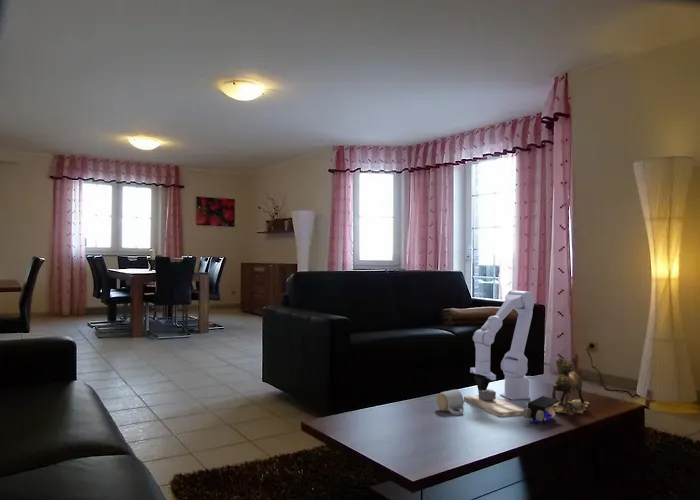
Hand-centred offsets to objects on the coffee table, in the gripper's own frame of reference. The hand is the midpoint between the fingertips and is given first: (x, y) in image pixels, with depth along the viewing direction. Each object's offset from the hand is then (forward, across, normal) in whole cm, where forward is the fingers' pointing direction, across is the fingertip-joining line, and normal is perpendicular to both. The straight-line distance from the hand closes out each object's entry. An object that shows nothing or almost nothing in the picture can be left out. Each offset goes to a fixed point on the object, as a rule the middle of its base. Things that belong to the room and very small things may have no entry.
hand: (482, 394), depth 205 cm
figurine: (+3, +17, +29) cm, 34 cm away
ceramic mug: (+3, +8, -19) cm, 21 cm away
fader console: (+3, +8, 0) cm, 8 cm away
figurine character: (+3, +28, +5) cm, 28 cm away
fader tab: (+1, +3, 0) cm, 3 cm away
